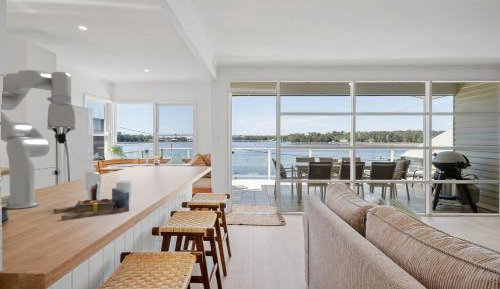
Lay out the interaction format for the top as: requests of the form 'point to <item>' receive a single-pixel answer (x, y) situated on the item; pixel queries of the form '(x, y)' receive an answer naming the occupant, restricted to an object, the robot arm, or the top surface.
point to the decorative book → (95, 205)
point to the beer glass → (93, 185)
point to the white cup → (125, 187)
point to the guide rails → (121, 204)
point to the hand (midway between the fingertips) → (61, 143)
